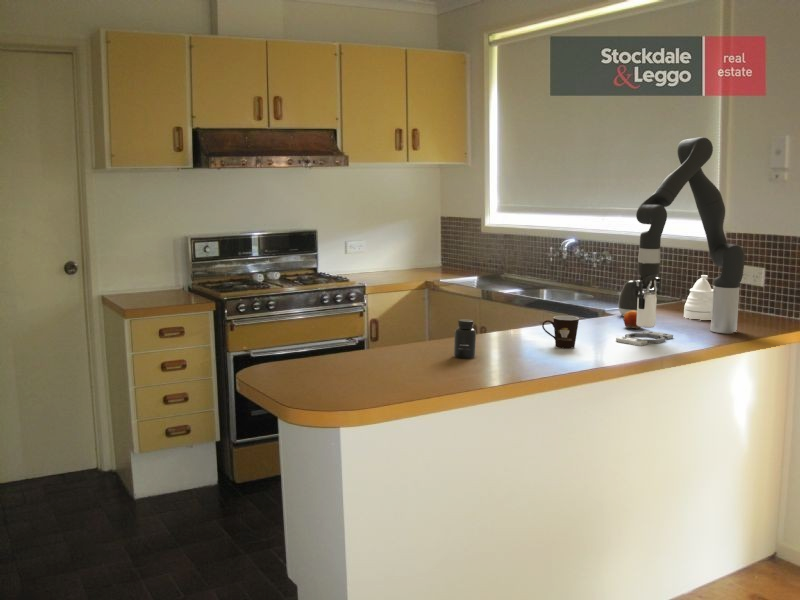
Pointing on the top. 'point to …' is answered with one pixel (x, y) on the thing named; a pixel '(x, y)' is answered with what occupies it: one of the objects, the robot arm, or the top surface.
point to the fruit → (631, 319)
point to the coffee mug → (564, 331)
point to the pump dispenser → (628, 298)
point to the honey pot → (699, 300)
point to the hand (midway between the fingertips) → (646, 307)
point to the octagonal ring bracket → (641, 342)
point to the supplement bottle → (465, 340)
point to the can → (647, 311)
